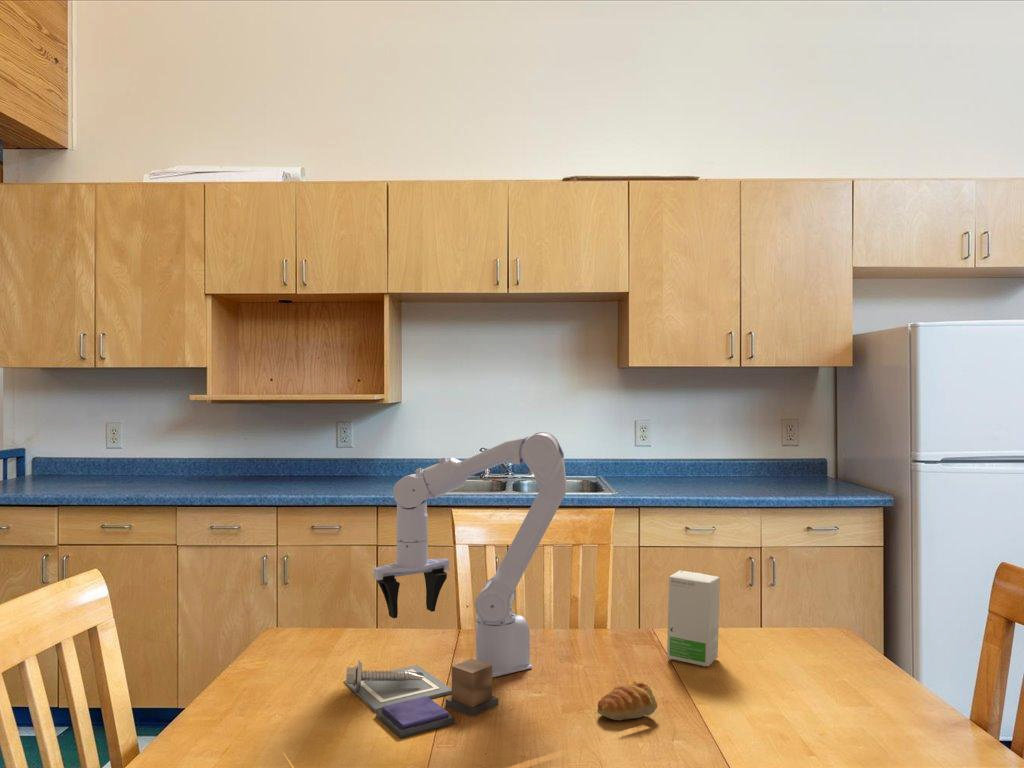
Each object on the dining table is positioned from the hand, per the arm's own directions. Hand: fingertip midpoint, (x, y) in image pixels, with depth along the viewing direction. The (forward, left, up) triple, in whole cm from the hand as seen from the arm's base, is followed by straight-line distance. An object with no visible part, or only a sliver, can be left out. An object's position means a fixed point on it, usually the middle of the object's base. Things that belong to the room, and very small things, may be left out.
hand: (412, 613), depth 142 cm
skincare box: (-46, +26, -10) cm, 54 cm away
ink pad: (+10, +22, -9) cm, 26 cm away
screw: (+9, +9, -9) cm, 16 cm away
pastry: (-17, +36, -10) cm, 41 cm away
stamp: (0, +22, -10) cm, 24 cm away
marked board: (+7, +9, -9) cm, 15 cm away
